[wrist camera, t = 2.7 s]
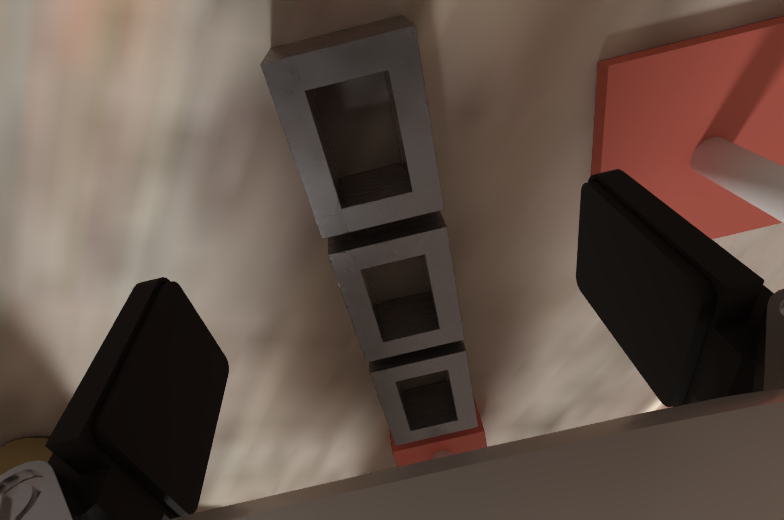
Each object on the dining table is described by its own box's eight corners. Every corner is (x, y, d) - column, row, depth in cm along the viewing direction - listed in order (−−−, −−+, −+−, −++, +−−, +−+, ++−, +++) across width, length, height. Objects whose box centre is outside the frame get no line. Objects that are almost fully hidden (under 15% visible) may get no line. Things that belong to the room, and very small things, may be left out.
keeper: (770, 214, 28) (927, 305, 21) (585, 258, 28) (675, 363, 21) (843, 1, 21) (1115, 25, 14) (598, 61, 22) (738, 116, 14)
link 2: (465, 387, 34) (478, 426, 31) (390, 405, 34) (395, 445, 32) (452, 312, 30) (466, 350, 27) (366, 333, 30) (370, 373, 27)
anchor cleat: (478, 426, 37) (500, 498, 33) (397, 445, 38) (408, 519, 33) (473, 398, 35) (497, 469, 30) (388, 417, 35) (397, 492, 30)
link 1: (450, 301, 29) (464, 339, 26) (362, 322, 29) (366, 362, 26) (433, 195, 25) (446, 227, 22) (328, 220, 25) (328, 255, 22)
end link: (430, 179, 24) (443, 209, 21) (323, 205, 24) (322, 238, 21) (402, 15, 19) (415, 25, 17) (270, 48, 20) (260, 64, 17)
